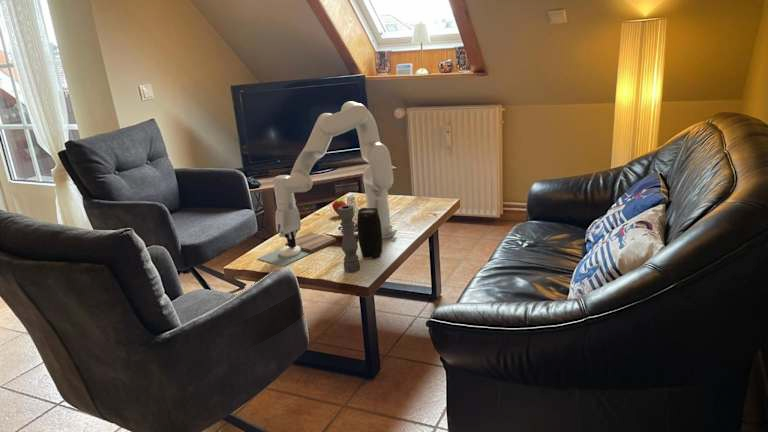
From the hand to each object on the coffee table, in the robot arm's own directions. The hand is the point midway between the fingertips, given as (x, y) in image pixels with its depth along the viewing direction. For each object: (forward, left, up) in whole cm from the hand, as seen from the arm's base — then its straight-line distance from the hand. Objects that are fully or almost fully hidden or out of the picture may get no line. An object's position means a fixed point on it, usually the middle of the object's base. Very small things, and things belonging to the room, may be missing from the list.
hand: (292, 246), depth 234 cm
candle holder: (-35, +1, -3) cm, 35 cm away
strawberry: (+16, -46, -3) cm, 49 cm away
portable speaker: (-33, -13, -3) cm, 36 cm away
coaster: (0, +2, -2) cm, 3 cm away
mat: (0, +5, -3) cm, 6 cm away
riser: (0, -11, -3) cm, 11 cm away
